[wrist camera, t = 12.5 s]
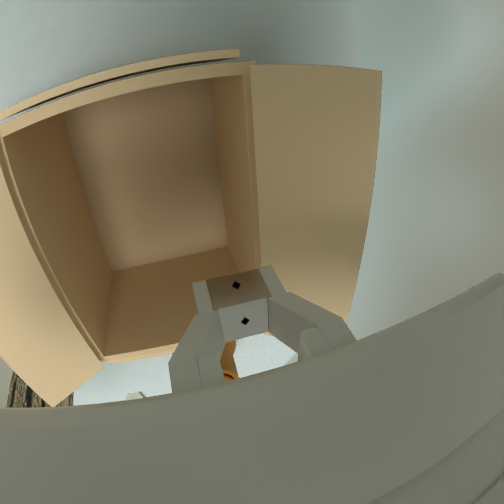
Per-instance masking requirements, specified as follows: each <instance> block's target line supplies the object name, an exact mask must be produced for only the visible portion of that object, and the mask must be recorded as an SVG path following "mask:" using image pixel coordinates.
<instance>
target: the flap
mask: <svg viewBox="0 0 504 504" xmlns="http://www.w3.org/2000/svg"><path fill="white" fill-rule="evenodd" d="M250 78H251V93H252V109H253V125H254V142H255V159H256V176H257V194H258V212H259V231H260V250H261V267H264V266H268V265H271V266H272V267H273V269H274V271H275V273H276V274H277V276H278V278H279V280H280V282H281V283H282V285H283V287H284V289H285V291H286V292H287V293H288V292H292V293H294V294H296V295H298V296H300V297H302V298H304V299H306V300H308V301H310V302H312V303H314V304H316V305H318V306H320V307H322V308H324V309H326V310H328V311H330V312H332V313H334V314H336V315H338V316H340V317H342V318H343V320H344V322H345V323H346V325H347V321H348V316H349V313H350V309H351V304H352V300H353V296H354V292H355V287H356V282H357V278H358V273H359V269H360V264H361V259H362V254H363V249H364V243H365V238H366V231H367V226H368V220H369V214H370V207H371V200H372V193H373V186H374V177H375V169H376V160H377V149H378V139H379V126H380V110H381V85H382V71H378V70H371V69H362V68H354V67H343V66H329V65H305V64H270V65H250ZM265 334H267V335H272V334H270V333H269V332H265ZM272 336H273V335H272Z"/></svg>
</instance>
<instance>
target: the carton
mask: <svg viewBox="0 0 504 504" xmlns="http://www.w3.org/2000/svg"><path fill="white" fill-rule="evenodd" d="M238 57H240V48H237V49H223V50H212V51H203V52H194V53H187V54H180V55H174V56H168V57H162V58H157V59H151V60H147V61H142V62H137V63H133V64H129V65H124V66H120V67H117V68H113V69H109V70H105V71H102V72H98V73H95V74H92V75H89V76H85V77H82V78H79V79H76V80H73V81H70V82H68V83H65V84H62V85H59V86H57V87H54V88H51V89H49V90H46V91H44V92H42V93H39V94H37V95H34V96H32V97H30V98H28V99H25V100H23V101H21V102H19V103H17V104H15V105H12V106H10V107H8V108H6V109H4V110H2V111H0V119H1V120H2V119H5V118H7V117H9V116H12V115H14V114H17V113H19V112H22V111H24V110H27V109H30V108H32V107H35V106H38V105H40V104H43V103H45V102H48V101H50V100H53V99H56V98H58V97H61V96H64V95H66V94H69V93H72V92H75V91H78V90H81V89H84V88H87V87H91V86H94V85H97V84H101V83H104V82H108V81H111V80H115V79H119V78H123V77H127V76H131V75H136V74H140V73H145V72H149V71H154V70H160V69H165V68H171V67H177V66H183V65H190V64H197V63H205V62H215V61H222V60H227V59H232V58H238ZM250 65H256V61H239V62H226V63H216V64H207V65H199V66H191V67H184V68H178V69H172V70H166V71H161V72H155V73H150V74H146V75H141V76H137V77H132V78H128V79H124V80H120V81H116V82H112V83H109V84H105V85H102V86H98V87H95V88H91V89H88V90H85V91H82V92H79V93H76V94H73V95H70V96H67V97H64V98H61V99H59V100H56V101H53V102H51V103H48V104H46V105H43V106H41V107H38V108H36V109H34V110H31V111H29V112H27V113H24V114H22V115H20V116H18V117H16V118H13V119H11V120H9V121H7V122H5V123H3V124H1V125H0V166H1V169H2V172H3V175H4V178H5V182H6V184H7V187H8V190H9V193H10V196H11V199H12V201H13V204H14V207H15V209H16V212H17V214H18V217H19V219H20V222H21V224H22V227H23V229H24V231H25V233H26V236H27V238H28V240H29V242H30V245H31V247H32V249H33V251H34V253H35V255H36V257H37V259H38V261H39V263H40V265H41V267H42V269H43V271H44V273H45V275H46V277H47V279H48V281H49V282H50V284H51V286H52V288H53V290H54V292H55V293H56V295H57V297H58V299H59V300H60V302H61V304H62V305H63V307H64V309H65V310H66V312H67V314H68V315H69V317H70V318H71V320H72V322H73V323H74V325H75V326H76V328H77V329H78V331H79V332H80V334H81V335H82V337H83V338H84V340H85V341H86V343H87V344H88V346H89V347H90V349H91V350H92V351H93V353H94V354H95V356H96V357H97V358H98V360H99V361H100V362H108V361H109V362H110V363H111V364H114V363H121V362H127V361H133V360H139V359H144V358H150V357H155V356H160V355H166V354H171V353H174V352H175V350H176V348H177V346H178V344H179V342H180V341H181V339H182V337H183V335H184V333H185V331H186V330H187V328H188V326H189V324H190V322H191V320H192V319H193V317H194V315H198V311H197V307H196V302H195V297H194V292H193V287H192V283H193V282H198V281H203V280H207V279H212V278H217V277H222V276H227V275H232V274H236V273H240V272H244V271H248V270H253V269H257V268H260V267H261V250H260V231H259V212H258V194H257V176H256V159H255V142H254V125H253V109H252V93H251V78H250Z"/></svg>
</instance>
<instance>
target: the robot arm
mask: <svg viewBox="0 0 504 504" xmlns="http://www.w3.org/2000/svg"><path fill="white" fill-rule="evenodd" d="M192 287H193V292H194V297H195V302H196V307H197V311H198V315H194V317H193V319H192V320H191V322H190V324H189V326H188V328H187V330H186V331H185V333H184V335H183V337H182V339H181V341H180V342H179V344H178V346H177V348H176V350H175V352H174V353H173V355H172V357H171V359H170V361H169V363H168V365H169V372H170V380H171V387H172V393H170V394H164V395H158V396H152V397H146V398H140V399H133V400H125V401H118V402H109V403H100V404H89V405H77V406H62V407H36V408H7V407H6V408H5V407H0V504H504V274H502V273H496V274H494V275H492V276H490V277H489V278H487V279H485V280H484V281H482V282H480V283H478V284H477V285H475V286H473V287H471V288H469V289H468V290H466V291H464V292H462V293H461V294H458V295H456V296H455V297H453V298H451V299H449V300H447V301H445V302H443V303H441V304H439V305H437V306H435V307H433V308H431V309H429V310H427V311H425V312H423V313H420V314H418V315H416V316H414V317H412V318H410V319H407V320H405V321H403V322H401V323H398V324H396V325H394V326H391V327H389V328H387V329H384V330H382V331H380V332H377V333H375V334H372V335H370V336H367V337H365V338H362V339H360V340H356V339H355V337H354V335H353V334H352V332H351V331H350V329H349V328H348V326H347V325H346V323H345V322H344V320H343V318H342V317H340V316H338V315H336V314H334V313H332V312H330V311H328V310H326V309H324V308H322V307H320V306H318V305H316V304H314V303H312V302H310V301H308V300H306V299H304V298H302V297H300V296H298V295H296V294H294V293H292V292H288V293H287V292H286V291H285V289H284V287H283V285H282V283H281V282H280V280H279V278H278V276H277V274H276V273H275V271H274V269H273V267H272V266H271V265H268V266H264V267H260V268H257V269H253V270H248V271H244V272H240V273H236V274H232V275H227V276H222V277H217V278H212V279H207V280H203V281H198V282H193V283H192ZM265 332H269V333H270V334H272V335H273V336H275V337H276V338H277V339H279V340H280V341H281V342H283V343H284V344H286V345H287V346H288V347H290V348H291V349H293V350H294V351H295V352H297V353H298V362H295V363H292V364H289V365H285V366H282V367H278V368H275V369H272V370H268V371H265V372H261V373H257V374H254V375H250V376H246V377H242V378H238V379H234V380H230V381H225V378H224V374H223V371H222V368H221V364H220V359H221V356H222V353H223V350H224V347H225V343H226V342H230V341H233V340H237V339H241V338H244V337H248V336H252V335H256V334H261V333H265Z"/></svg>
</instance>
